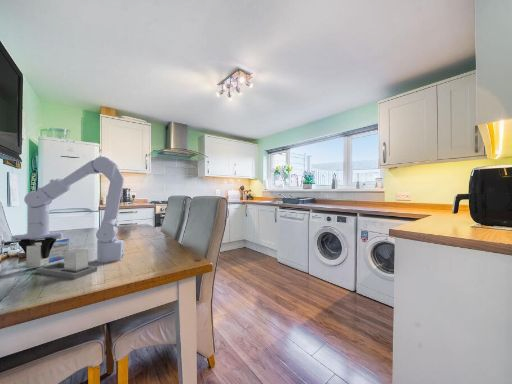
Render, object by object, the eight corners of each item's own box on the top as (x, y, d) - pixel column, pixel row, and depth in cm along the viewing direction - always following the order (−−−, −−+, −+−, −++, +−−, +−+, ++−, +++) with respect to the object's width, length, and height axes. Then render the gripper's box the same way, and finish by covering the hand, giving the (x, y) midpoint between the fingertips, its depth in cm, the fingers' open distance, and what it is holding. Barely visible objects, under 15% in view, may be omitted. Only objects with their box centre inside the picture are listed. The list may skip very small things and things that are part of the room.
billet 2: (64, 274, 73) (64, 251, 73) (76, 270, 77) (77, 248, 77) (75, 276, 71) (76, 252, 71) (88, 272, 75) (88, 249, 75)
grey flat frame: (35, 275, 74) (36, 268, 74) (60, 268, 81) (60, 261, 81) (74, 282, 69) (74, 274, 69) (96, 273, 76) (97, 266, 76)
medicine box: (48, 262, 87) (49, 242, 87) (40, 262, 88) (40, 241, 88) (69, 257, 95) (69, 238, 95) (61, 256, 96) (61, 237, 96)
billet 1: (36, 263, 82) (36, 242, 82) (49, 262, 84) (49, 242, 84) (26, 268, 77) (26, 246, 77) (40, 266, 78) (40, 245, 78)
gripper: (67, 220, 86) (67, 253, 86) (21, 222, 82) (20, 257, 82) (58, 223, 80) (57, 258, 80) (6, 224, 75) (6, 262, 75)
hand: (38, 258), depth 80 cm, fingers closed on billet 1, 4 cm apart
